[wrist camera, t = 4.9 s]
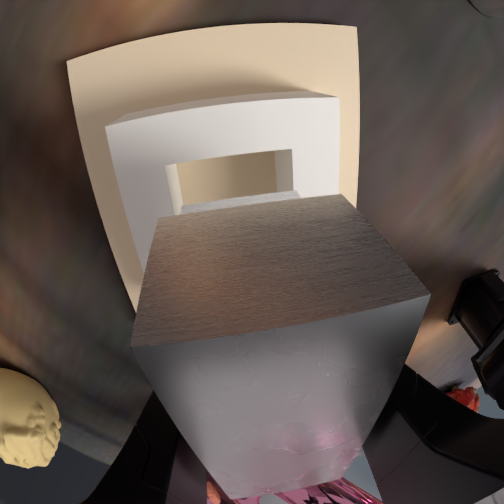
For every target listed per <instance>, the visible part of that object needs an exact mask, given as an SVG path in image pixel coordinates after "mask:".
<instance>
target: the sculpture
mask: <svg viewBox="0 0 504 504" xmlns="http://www.w3.org/2000/svg"><path fill="white" fill-rule="evenodd" d="M60 428H61V422H60V421H59V412H58V409H57V407H56V404H55V402H54V401H53V400H52V399H51V397H50V396H49V394H48V393H47V391H46V390H45V389H44V387H43V386H42V385H41V384H39V383H38V382H37V381H35V380H34V379H32V378H30V377H28V376H26V375H24V374H22V373H19V372H16V371H13V370H9V369H5V368H0V457H1V458H2V459H3V460H4V462H5V463H7V464H13V465H17V466H21V467H26V468H31V467H34V466H44V467H45V466H47V465H48V464H49V462H50V460H51V458H52V457H53V456H54V455H55V453H54V452H55V451H56V450H57V447H58V442H59V440H60V433H59V430H58V429H60Z"/></svg>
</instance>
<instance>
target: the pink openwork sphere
mask: <svg viewBox="0 0 504 504" xmlns="http://www.w3.org/2000/svg"><path fill="white" fill-rule="evenodd" d="M206 478H207V504H260V503H259V501H260V498H261V496H255V497H247V498H239V499H230V498H229V497H228V496H227V494H226V493H225V492H224V491H223V490H222V488H221V487H220V486H219V485H218V483H217V482H216V481H215V479H214V478H213V477H212V476H211V474H210V473H209V472H208V470H207V469H206ZM274 495H276V496H277V497H279V498H281V499H282V500H284V501H286V502H287V503H288V504H384V503H383V502H382V501H381V500H379V499H377V498H376V497H374V496H372V495H371V494H369V493H367V492H366V491H364V490H362V489H361V488H359V487H357V486H356V485H354V484H353V483H351V482H349V481H348V480H346V479H345V478H343V477H342V478H340V479H337V480H333V481H330V482H326V483H322V484H318V485H314V486H309V487H305V488H300V489H296V490H291V491H285V492H280V493H274Z"/></svg>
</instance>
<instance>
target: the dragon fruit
mask: <svg viewBox="0 0 504 504" xmlns="http://www.w3.org/2000/svg"><path fill="white" fill-rule="evenodd" d="M446 394H447V395H449V396H450V397H452V398H454V399H455V400H457V401H458V402H460V403H462V404H463V405H465V406H467V407H468V408H470V409H472V410H473V411H475V412H477V413H478V409H479V404H480V403H479V398H480V397H479V395H478V394H476V388H475V389H474V388H473V387H467V388H466V389H465V390H463V389H459V388H457V387H456V386H454V387H453V389H452V391H451V392H448V393H446Z"/></svg>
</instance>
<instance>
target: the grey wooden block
mask: <svg viewBox="0 0 504 504" xmlns="http://www.w3.org/2000/svg"><path fill="white" fill-rule="evenodd" d="M430 296H431V293H430V292H429V291H428V290H427V288H426V287H425V286H424V285H423V283H422V282H421V281H420V280H419V279H418V277H417V276H416V275H415V274H414V273H413V271H412V270H411V269H410V268H409V267H408V266H407V264H406V263H405V262H404V261H403V260H402V259H401V257H400V256H399V255H398V254H397V253H396V252H395V251H394V249H393V248H392V247H391V246H390V245H389V244H388V243H387V242H386V240H385V239H384V238H383V237H382V236H381V235H380V234H379V233H378V232H377V231H376V229H375V228H374V227H373V226H372V225H371V224H370V223H369V222H368V221H367V220H366V219H365V218H364V217H363V216H362V214H361V213H360V212H359V211H358V210H357V209H356V208H355V207H354V206H353V205H352V204H351V203H350V202H349V201H348V200H347V199H346V198H345V197H344V196H343V195H342V194H336V195H326V196H317V197H308V198H301V196H300V195H299V194H298V192H297V191H296V190H293V191H284V192H276V193H268V194H260V195H252V196H244V197H237V198H229V199H222V200H215V201H209V202H202V203H195V204H189V205H183V206H181V213H180V215H175V216H169V217H163V218H158V221H157V224H156V228H155V232H154V236H153V240H152V244H151V248H150V252H149V256H148V260H147V265H146V269H145V273H144V278H143V282H142V287H141V291H140V296H139V301H138V306H137V311H136V316H135V321H134V327H133V332H132V338H131V343H130V348H131V350H132V352H133V354H134V356H135V358H136V360H137V361H138V363H139V365H140V367H141V369H142V371H143V372H144V374H145V376H146V378H147V379H148V381H149V383H150V385H151V386H152V388H153V390H154V391H155V393H156V395H157V396H158V398H159V400H160V401H161V403H162V405H163V406H164V408H165V409H166V411H167V413H168V414H169V416H170V417H171V419H172V420H173V422H174V423H175V425H176V427H177V428H178V430H179V431H180V433H181V434H182V435H183V437H184V438H185V440H186V441H187V443H188V444H189V446H190V447H191V448H192V450H193V451H194V453H195V454H196V455H197V457H198V458H199V460H200V461H201V462H202V464H203V465H204V466H205V468H206V469H207V470H208V472H209V473H210V474H211V476H212V477H213V478H214V479H215V481H216V482H217V483H218V485H219V486H220V487H221V488H222V490H223V491H224V492H225V493H226V494H227V496H228V497H229V498H230V499H239V498H247V497H255V496H262V495H268V494H274V493H280V492H285V491H291V490H296V489H300V488H305V487H309V486H314V485H318V484H322V483H326V482H330V481H333V480H337V479H340V478H342V477H343V475H344V474H345V472H346V470H347V469H348V467H349V466H350V464H351V463H352V461H353V460H354V458H355V456H356V455H357V453H358V452H359V450H360V448H361V447H362V445H363V443H364V442H365V440H366V438H367V437H368V435H369V433H370V431H371V429H372V428H373V426H374V424H375V422H376V420H377V419H378V417H379V415H380V413H381V411H382V409H383V407H384V405H385V403H386V401H387V400H388V398H389V396H390V394H391V391H392V389H393V387H394V385H395V383H396V381H397V379H398V377H399V375H400V372H401V370H402V368H403V366H404V364H405V361H406V359H407V357H408V354H409V352H410V350H411V347H412V345H413V342H414V340H415V337H416V335H417V332H418V330H419V327H420V324H421V322H422V319H423V316H424V314H425V311H426V308H427V305H428V302H429V299H430Z"/></svg>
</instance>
